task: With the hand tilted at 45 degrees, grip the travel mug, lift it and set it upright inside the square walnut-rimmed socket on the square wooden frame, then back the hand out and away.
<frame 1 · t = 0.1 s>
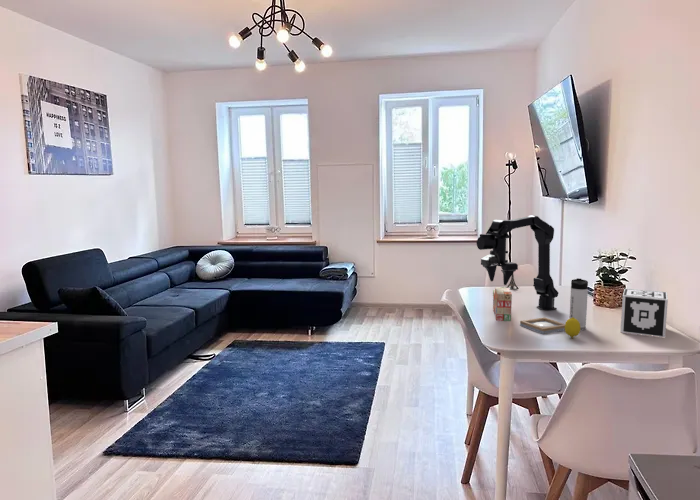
hand: (498, 283, 227), 15 cm above the table, tool pointing down, fingers open, 9 cm apart
square wooden frame: (543, 327, 208), on the table
travel mug: (577, 328, 207), on the table
stack of blocks: (501, 315, 230), on the table
eiffel tower figurine: (512, 289, 285), on the table
lemon: (572, 338, 195), on the table
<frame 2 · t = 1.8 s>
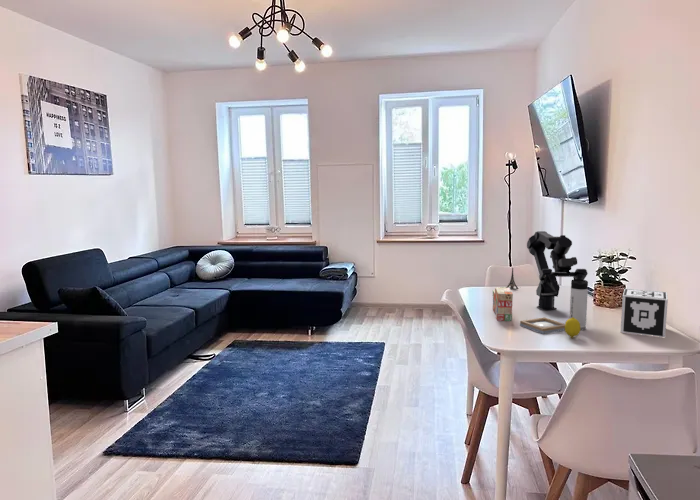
hand: (567, 291, 214), 13 cm above the table, tool tilted 45°, fingers open, 9 cm apart
nothing on the table moved.
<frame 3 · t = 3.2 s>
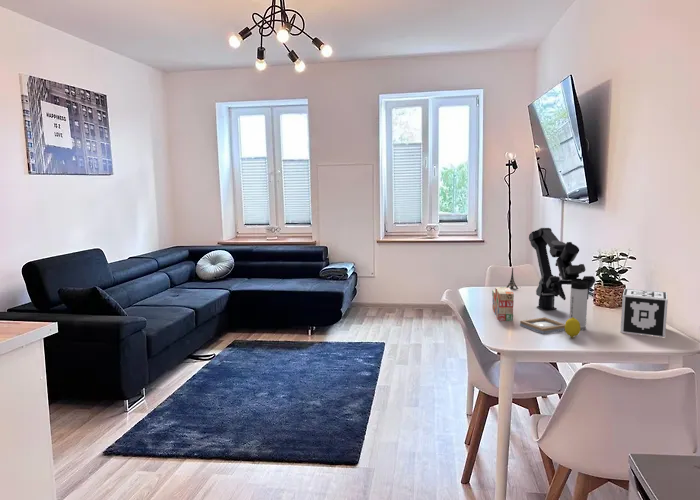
hand: (576, 299, 208), 11 cm above the table, tool tilted 45°, fingers open, 9 cm apart
nothing on the table moved.
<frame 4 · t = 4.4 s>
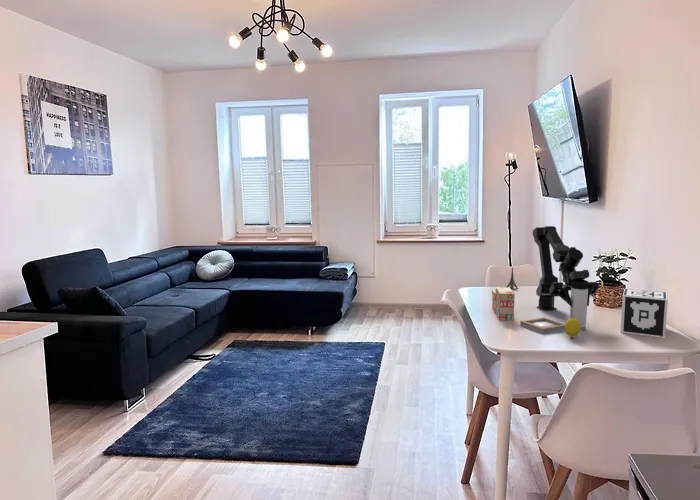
hand: (579, 305, 205), 10 cm above the table, tool tilted 45°, fingers closed on travel mug, 6 cm apart
travel mug: (577, 328, 207), on the table, touching gripper
everything else where it was.
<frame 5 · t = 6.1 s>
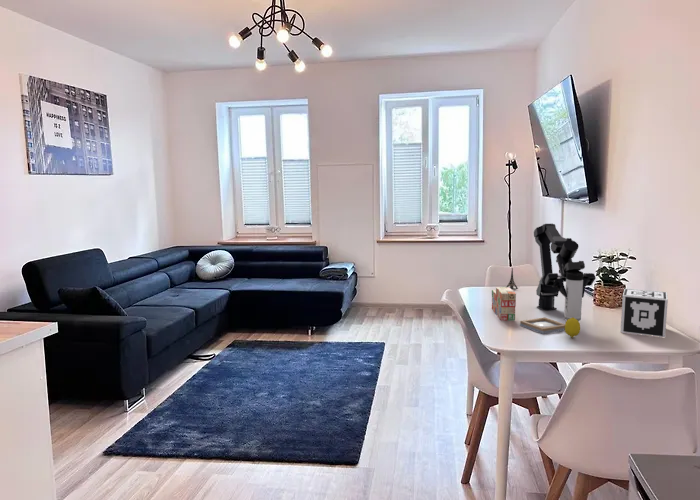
hand: (574, 297, 204), 13 cm above the table, tool tilted 45°, fingers closed on travel mug, 6 cm apart
travel mug: (572, 319, 207), point 4 cm above the table, touching gripper
when the fingers open (12 cm above the table, at t = 7.8 s): travel mug stays where it is, resting on square wooden frame.
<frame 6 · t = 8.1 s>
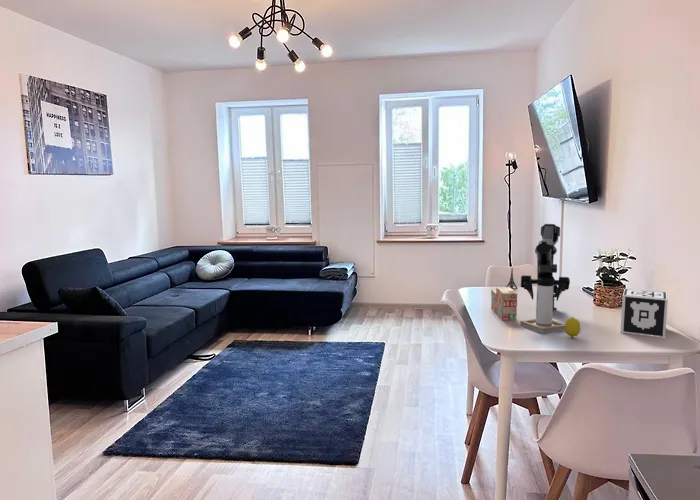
hand: (544, 299, 206), 12 cm above the table, tool tilted 45°, fingers open, 9 cm apart
travel mug: (543, 325, 209), point 1 cm above the table, touching square wooden frame
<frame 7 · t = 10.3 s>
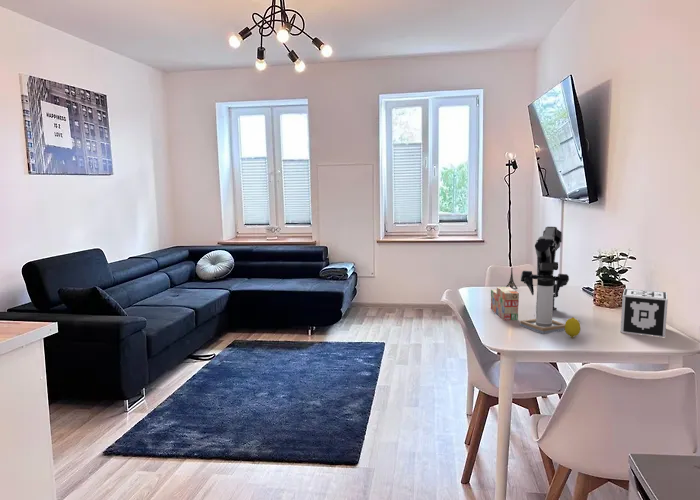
hand: (544, 295, 213), 12 cm above the table, tool tilted 40°, fingers open, 9 cm apart
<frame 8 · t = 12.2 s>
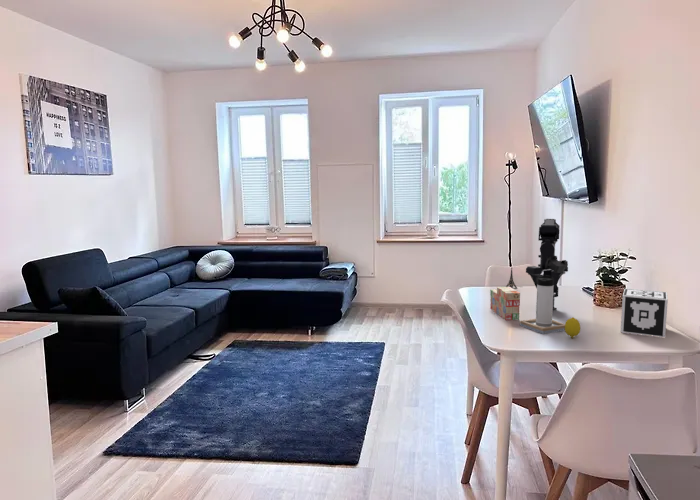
hand: (546, 288, 222), 13 cm above the table, tool pointing down, fingers open, 9 cm apart
at the end: travel mug 0.2 cm off-centre on the square wooden frame, point 1.0 cm above the square wooden frame's base; travel mug tilted 0°; the gripper is holding nothing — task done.
